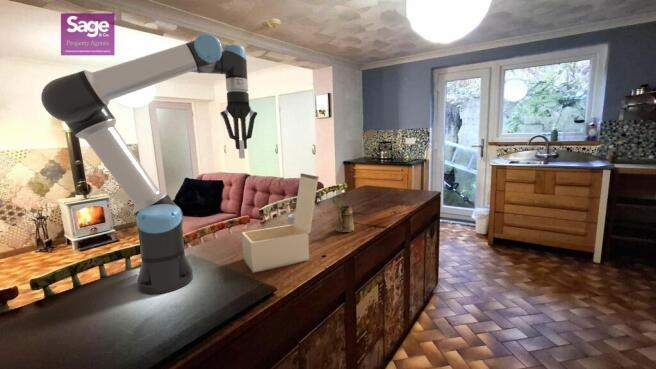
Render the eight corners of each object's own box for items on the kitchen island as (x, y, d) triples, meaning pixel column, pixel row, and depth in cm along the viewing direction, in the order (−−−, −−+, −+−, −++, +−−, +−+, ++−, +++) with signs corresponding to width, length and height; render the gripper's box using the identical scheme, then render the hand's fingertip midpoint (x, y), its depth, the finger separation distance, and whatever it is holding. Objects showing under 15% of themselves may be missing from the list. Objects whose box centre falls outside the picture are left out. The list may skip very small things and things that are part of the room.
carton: (253, 272, 100) (251, 243, 99) (243, 258, 112) (241, 232, 111) (309, 260, 109) (308, 233, 108) (294, 248, 122) (293, 224, 120)
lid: (316, 176, 107) (318, 176, 107) (300, 173, 119) (302, 173, 120) (308, 232, 108) (310, 232, 108) (293, 223, 120) (295, 224, 121)
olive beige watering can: (327, 234, 140) (326, 195, 137) (341, 226, 151) (340, 190, 149) (345, 236, 135) (344, 196, 133) (357, 228, 147) (357, 191, 144)
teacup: (300, 235, 139) (300, 218, 138) (283, 231, 146) (283, 215, 144) (320, 228, 150) (319, 212, 149) (303, 225, 156) (302, 209, 155)
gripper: (220, 89, 104) (225, 159, 107) (258, 91, 110) (262, 157, 113) (216, 92, 110) (221, 158, 114) (253, 94, 116) (256, 157, 119)
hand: (242, 158), depth 113 cm, fingers closed
